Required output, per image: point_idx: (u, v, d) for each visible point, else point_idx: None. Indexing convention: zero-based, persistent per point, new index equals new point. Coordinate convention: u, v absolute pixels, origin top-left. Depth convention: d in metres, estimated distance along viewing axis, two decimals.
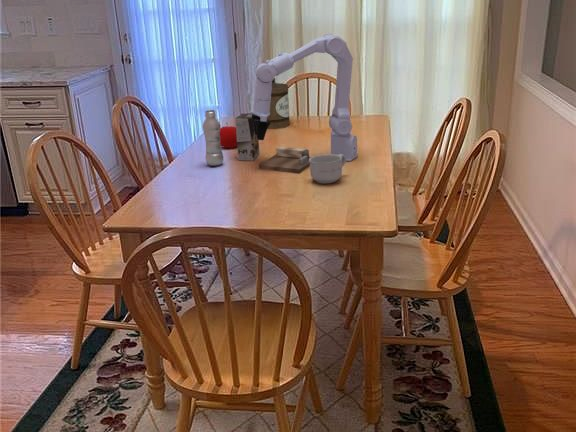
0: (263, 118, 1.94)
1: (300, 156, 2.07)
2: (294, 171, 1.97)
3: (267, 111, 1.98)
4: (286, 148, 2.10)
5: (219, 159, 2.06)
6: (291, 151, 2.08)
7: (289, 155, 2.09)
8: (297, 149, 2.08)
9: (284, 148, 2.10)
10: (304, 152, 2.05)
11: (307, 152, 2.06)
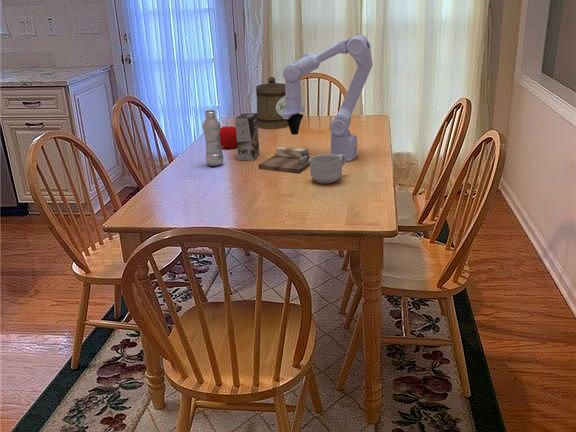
0: (285, 116, 2.04)
1: (300, 156, 2.07)
2: (294, 171, 1.97)
3: (295, 109, 2.07)
4: (286, 148, 2.10)
5: (219, 159, 2.06)
6: (291, 151, 2.08)
7: (289, 155, 2.09)
8: (297, 149, 2.08)
9: (284, 148, 2.10)
10: (304, 152, 2.05)
11: (307, 152, 2.06)
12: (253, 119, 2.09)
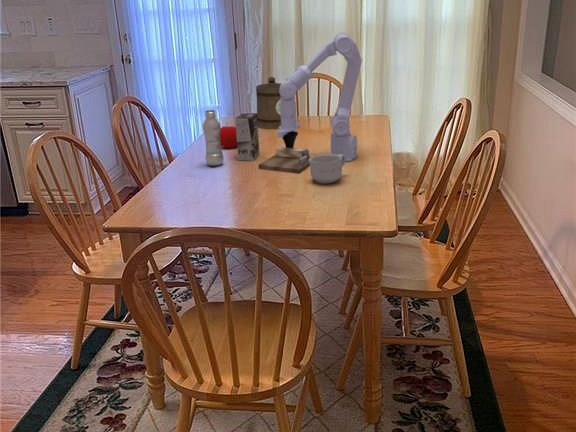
0: (279, 134, 2.03)
1: (300, 156, 2.07)
2: (294, 171, 1.97)
3: (290, 127, 2.05)
4: (286, 148, 2.10)
5: (219, 159, 2.06)
6: (291, 151, 2.07)
7: (289, 155, 2.08)
8: (297, 149, 2.08)
9: (284, 148, 2.10)
10: (304, 152, 2.05)
11: (307, 151, 2.06)
12: (253, 119, 2.09)
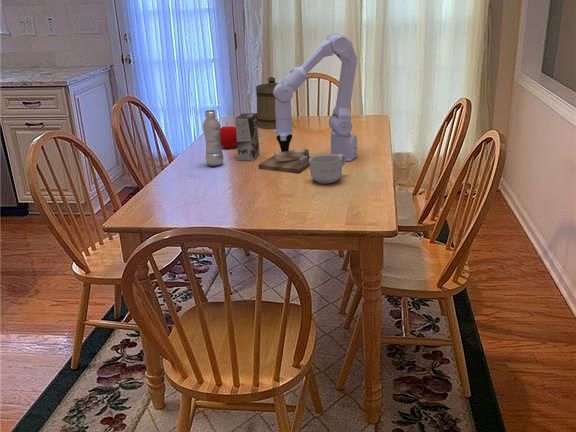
0: (283, 138, 1.98)
1: None
2: (294, 171, 1.97)
3: (288, 129, 2.02)
4: (285, 152, 2.05)
5: (219, 159, 2.06)
6: (293, 154, 2.04)
7: (291, 158, 2.05)
8: (297, 151, 2.06)
9: (283, 152, 2.04)
10: (307, 152, 2.06)
11: (308, 151, 2.06)
12: (253, 119, 2.09)
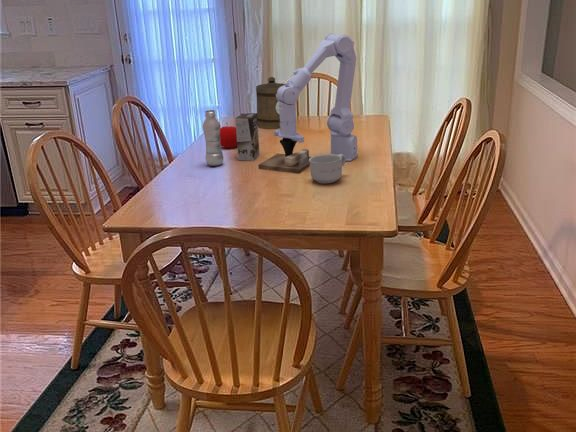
0: (301, 140, 1.95)
1: None
2: (294, 171, 1.97)
3: None
4: (293, 155, 2.01)
5: (219, 159, 2.06)
6: (301, 155, 2.02)
7: None
8: (300, 152, 2.04)
9: (293, 156, 2.00)
10: (308, 151, 2.06)
11: None
12: (253, 119, 2.09)
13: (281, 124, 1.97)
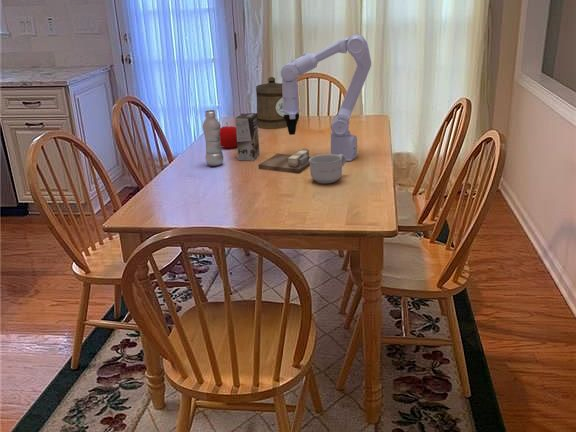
0: (292, 116, 2.01)
1: None
2: (294, 171, 1.97)
3: (296, 108, 2.06)
4: (295, 155, 2.01)
5: (219, 159, 2.06)
6: (302, 155, 2.02)
7: None
8: (301, 152, 2.04)
9: (296, 156, 2.00)
10: (308, 151, 2.07)
11: None
12: (253, 119, 2.09)
13: None
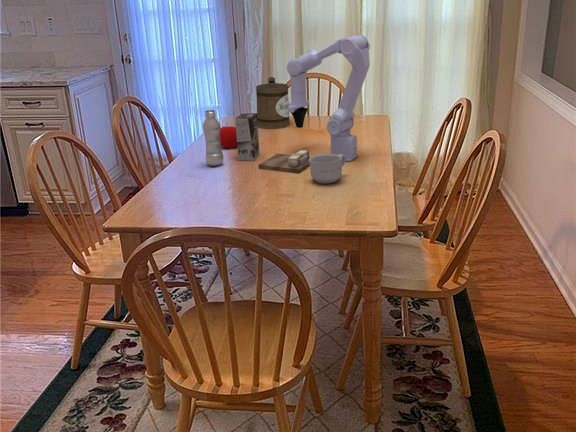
0: (290, 110, 2.10)
1: None
2: (294, 171, 1.97)
3: (300, 103, 2.12)
4: (295, 155, 2.01)
5: (219, 159, 2.06)
6: (302, 155, 2.02)
7: None
8: (301, 152, 2.04)
9: (296, 156, 2.00)
10: (308, 151, 2.07)
11: None
12: (253, 119, 2.09)
13: None
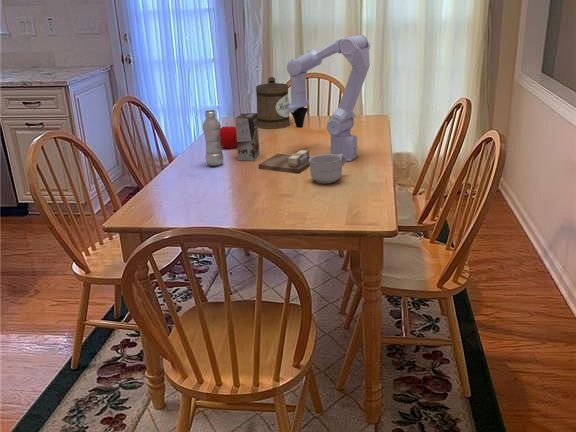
0: (290, 110, 2.10)
1: None
2: (294, 171, 1.97)
3: (300, 103, 2.12)
4: (295, 155, 2.01)
5: (219, 159, 2.06)
6: (302, 155, 2.02)
7: None
8: (301, 152, 2.04)
9: (296, 156, 2.00)
10: (308, 151, 2.07)
11: None
12: (253, 119, 2.09)
13: None
